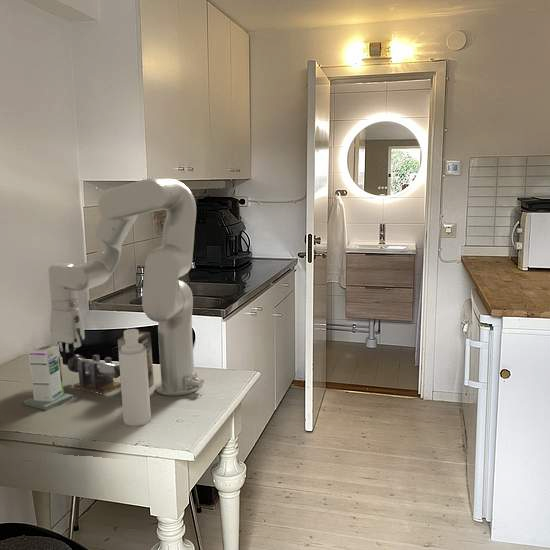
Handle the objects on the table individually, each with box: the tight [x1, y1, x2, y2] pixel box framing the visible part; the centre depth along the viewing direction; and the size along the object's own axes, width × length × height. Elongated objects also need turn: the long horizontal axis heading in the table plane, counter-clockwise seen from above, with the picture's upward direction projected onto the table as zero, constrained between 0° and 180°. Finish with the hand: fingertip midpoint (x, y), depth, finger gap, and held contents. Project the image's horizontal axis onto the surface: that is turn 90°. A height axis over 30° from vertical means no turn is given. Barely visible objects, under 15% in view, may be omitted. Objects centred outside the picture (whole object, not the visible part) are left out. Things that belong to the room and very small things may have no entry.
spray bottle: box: [117, 328, 152, 427], centre depth 141 cm, size 7×7×25 cm
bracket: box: [73, 354, 121, 395], centre depth 166 cm, size 12×7×8 cm, turn 60°
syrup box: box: [27, 344, 65, 402], centre depth 156 cm, size 6×6×14 cm
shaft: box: [66, 353, 120, 379], centre depth 166 cm, size 18×5×5 cm, turn 60°
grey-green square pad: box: [23, 392, 74, 411], centre depth 157 cm, size 9×9×1 cm
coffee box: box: [117, 331, 155, 395], centre depth 163 cm, size 9×6×16 cm
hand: (68, 363), depth 172 cm, fingers closed
